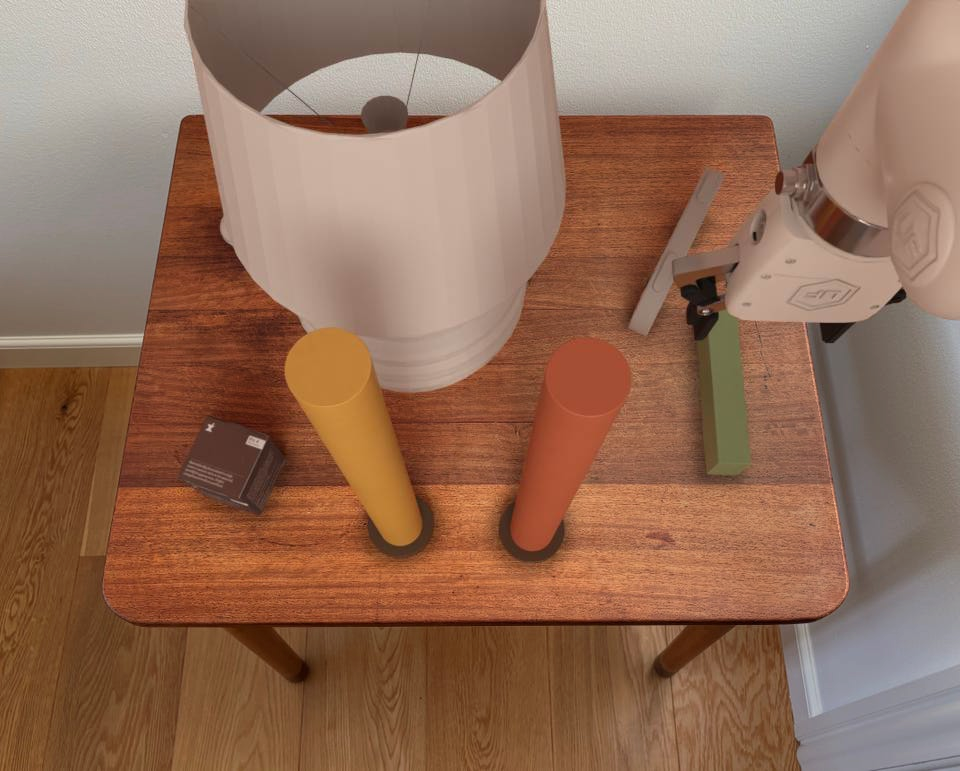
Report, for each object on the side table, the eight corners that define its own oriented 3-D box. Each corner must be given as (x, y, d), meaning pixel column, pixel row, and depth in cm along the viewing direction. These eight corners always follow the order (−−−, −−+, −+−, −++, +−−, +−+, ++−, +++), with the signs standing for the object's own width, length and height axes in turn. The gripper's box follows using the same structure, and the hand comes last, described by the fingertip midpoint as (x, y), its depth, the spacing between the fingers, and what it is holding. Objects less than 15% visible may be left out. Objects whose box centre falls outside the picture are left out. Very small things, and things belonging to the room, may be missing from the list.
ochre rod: (431, 559, 69) (387, 430, 34) (366, 557, 70) (253, 425, 34) (435, 494, 72) (398, 310, 36) (371, 492, 72) (271, 305, 36)
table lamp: (463, 485, 72) (451, 274, 35) (243, 364, 76) (23, 60, 39) (582, 279, 80) (677, -72, 43) (377, 180, 84) (301, -217, 47)
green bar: (724, 323, 78) (736, 305, 75) (737, 475, 73) (751, 464, 69) (695, 322, 78) (706, 304, 75) (705, 474, 73) (718, 463, 69)
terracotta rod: (563, 565, 69) (656, 441, 34) (497, 562, 69) (521, 435, 34) (563, 499, 72) (651, 319, 36) (499, 497, 72) (524, 315, 36)
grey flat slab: (691, 197, 84) (713, 147, 76) (710, 205, 84) (734, 156, 76) (619, 339, 78) (635, 301, 70) (640, 349, 77) (658, 312, 70)
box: (202, 496, 71) (173, 476, 65) (231, 438, 74) (206, 412, 67) (261, 517, 71) (238, 499, 64) (288, 458, 73) (269, 435, 66)
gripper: (718, 246, 41) (649, 367, 57) (1043, 252, 41) (882, 372, 57) (706, 131, 43) (643, 278, 59) (1011, 137, 43) (866, 283, 59)
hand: (760, 324), depth 58 cm, fingers open, 9 cm apart
